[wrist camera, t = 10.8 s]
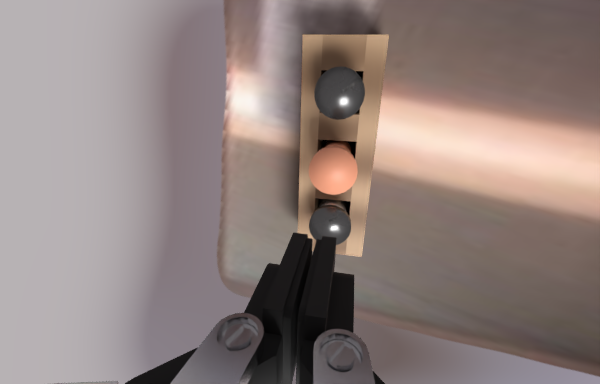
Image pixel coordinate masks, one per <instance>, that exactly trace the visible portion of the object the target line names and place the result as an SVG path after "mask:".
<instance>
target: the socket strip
mask: <svg viewBox="0 0 600 384" xmlns="http://www.w3.org/2000/svg"><path fill="white" fill-rule="evenodd" d="M388 39H389V35H303V43H302V84H301V124H300V165H299V206H298V233H301V234H308V238H312V239H313V246H312V251H314V248H315V244H316V240H315V239H314V238H313V236H312V235H311V233H310V230H309V222H310V218H311V216H312V214H313V212H314V211H315V210H316V209H317V208H319V201H320V199H330V200H341V201H350V204H349V213H348V215H349V217H350V220H351V232H350V235H349V237H348V238H347V239H346V240H345V241H344V242H343V243H341V244H338V245H336V253H335V254H342V255H351V256H359V257H362V250H363V242H364V234H365V225H366V217H367V209H368V201H369V193H370V185H371V177H372V169H373V160H374V152H375V144H376V136H377V128H378V120H379V112H380V104H381V95H382V87H383V79H384V71H385V63H386V55H387V47H388ZM334 67H348V68H350V69H352V70H354V71H355V72H357V73H362V81H363V83H364V87H365V97H364V101H363V103H362V105H361V107H360V109H359V110H358V111H357V112H356V113H355V114H354V115H352V116H351V117H349V118H346V119H341V120H336V119H331V118H329V117H327V116H325V115H324V114H323V113H322V112H321V111H320V110H319V109H318V107H317V105H316V102H315V98H314V91H315V86H316V83H317V81H318V79H319V78H320V77H321V75H322V74H323V73H324V72H326V71H327V70H329V69H331V68H334ZM323 140H337V141H354V142H355V152H354V158H355V160H356V162H357V169H358V173H357V178H356V181H355V183H354V184H353V186H352V187H351V188H350V189H349V190H347V191H346V192H344V193H341V194H336V195H331V194H326V193H323V192H321V191H319V190H318V189H317V188H316V187H315V186H314V185H313V184H312V182H311V180H310V177H309V165H310V162H311V160H312V158H313V157H314V155H315V154H316V153H317V152H318V151H319V150H321V149H322V145H323Z"/></svg>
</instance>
